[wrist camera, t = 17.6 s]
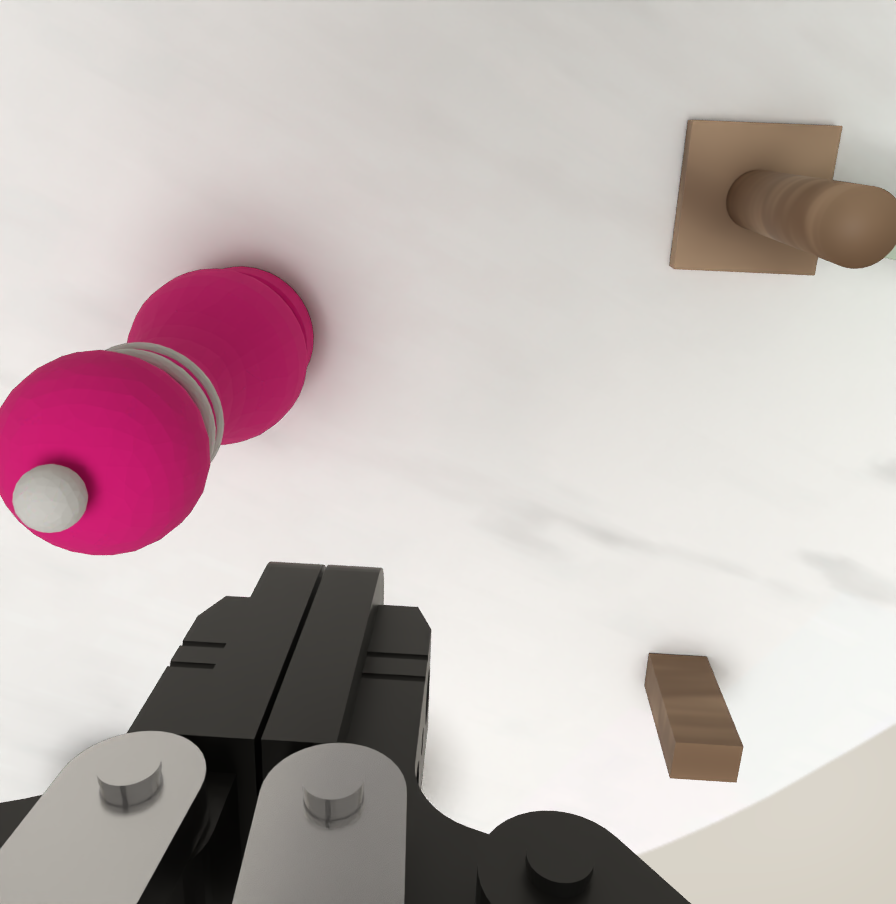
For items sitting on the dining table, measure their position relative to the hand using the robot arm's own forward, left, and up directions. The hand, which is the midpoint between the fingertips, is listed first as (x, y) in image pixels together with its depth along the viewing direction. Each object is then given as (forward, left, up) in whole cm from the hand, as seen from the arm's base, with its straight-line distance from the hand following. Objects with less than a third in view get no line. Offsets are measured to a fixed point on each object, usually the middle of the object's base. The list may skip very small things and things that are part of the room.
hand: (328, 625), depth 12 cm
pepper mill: (+3, -9, -29) cm, 31 cm away
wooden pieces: (+7, +13, -29) cm, 33 cm away
